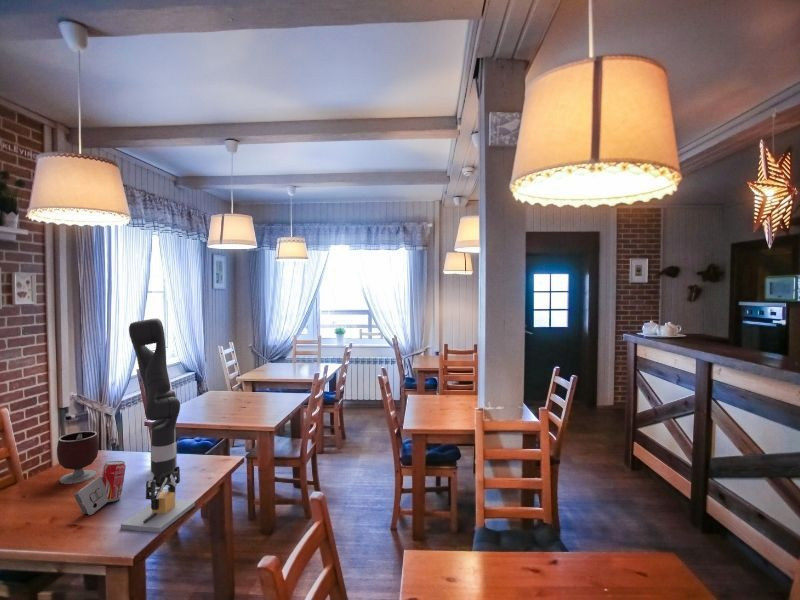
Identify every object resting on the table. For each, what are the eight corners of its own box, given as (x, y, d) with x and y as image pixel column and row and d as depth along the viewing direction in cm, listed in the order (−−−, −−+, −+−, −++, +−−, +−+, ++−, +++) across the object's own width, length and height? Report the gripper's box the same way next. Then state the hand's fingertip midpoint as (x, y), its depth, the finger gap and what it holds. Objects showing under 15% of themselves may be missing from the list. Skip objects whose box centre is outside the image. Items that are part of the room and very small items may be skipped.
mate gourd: (55, 476, 184) (55, 428, 184) (96, 468, 193) (95, 421, 193) (59, 489, 172) (58, 437, 172) (102, 479, 181) (101, 430, 181)
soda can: (123, 497, 167) (128, 460, 169) (117, 502, 160) (123, 464, 162) (101, 497, 164) (107, 460, 167) (95, 502, 158) (101, 464, 160)
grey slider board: (159, 502, 162) (159, 489, 161) (194, 505, 159) (194, 491, 159) (120, 528, 144) (120, 513, 144) (160, 532, 142) (160, 516, 141)
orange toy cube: (162, 505, 156) (162, 491, 156) (175, 506, 156) (174, 492, 155) (151, 512, 151) (151, 497, 151) (165, 513, 151) (165, 498, 151)
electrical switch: (91, 516, 152) (83, 491, 150) (77, 517, 152) (70, 492, 151) (112, 499, 161) (105, 475, 159) (99, 500, 162) (92, 476, 160)
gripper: (167, 448, 161) (167, 493, 161) (138, 463, 147) (138, 512, 147) (186, 449, 160) (186, 495, 160) (158, 465, 146) (159, 514, 146)
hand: (163, 503), depth 153 cm, fingers open, 8 cm apart
